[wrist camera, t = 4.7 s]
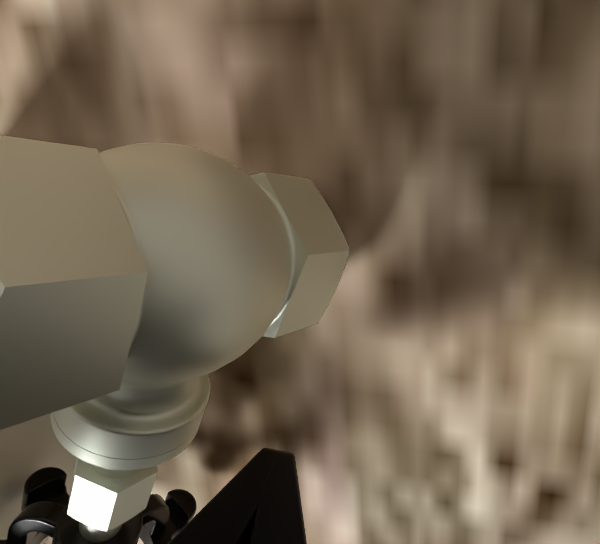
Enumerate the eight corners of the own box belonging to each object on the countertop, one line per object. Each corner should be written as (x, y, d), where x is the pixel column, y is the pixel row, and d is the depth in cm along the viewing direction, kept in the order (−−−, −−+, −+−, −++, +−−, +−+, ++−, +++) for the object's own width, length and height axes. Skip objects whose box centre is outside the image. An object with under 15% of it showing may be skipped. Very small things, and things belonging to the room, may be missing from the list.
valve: (224, 123, 11) (134, 445, 15) (-132, 34, 6) (-114, 559, 10) (446, 237, 8) (251, 603, 12) (90, 270, 3) (-24, 887, 7)
